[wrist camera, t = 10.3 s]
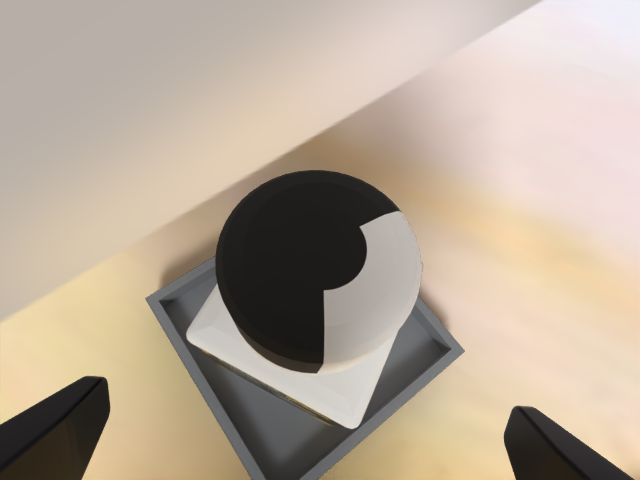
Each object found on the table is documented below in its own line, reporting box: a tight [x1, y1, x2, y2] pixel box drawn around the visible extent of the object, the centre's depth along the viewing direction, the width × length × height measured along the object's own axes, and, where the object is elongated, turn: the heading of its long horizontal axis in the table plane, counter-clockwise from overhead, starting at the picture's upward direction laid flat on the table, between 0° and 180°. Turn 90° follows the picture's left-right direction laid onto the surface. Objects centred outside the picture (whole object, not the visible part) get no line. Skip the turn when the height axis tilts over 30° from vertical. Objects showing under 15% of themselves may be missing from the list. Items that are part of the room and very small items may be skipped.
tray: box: [145, 256, 465, 480], centre depth 22 cm, size 12×12×2 cm
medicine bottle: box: [186, 170, 423, 429], centre depth 16 cm, size 7×7×12 cm
